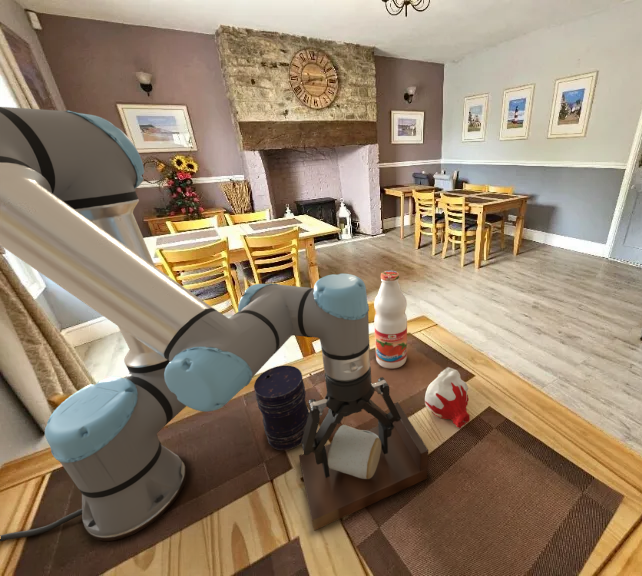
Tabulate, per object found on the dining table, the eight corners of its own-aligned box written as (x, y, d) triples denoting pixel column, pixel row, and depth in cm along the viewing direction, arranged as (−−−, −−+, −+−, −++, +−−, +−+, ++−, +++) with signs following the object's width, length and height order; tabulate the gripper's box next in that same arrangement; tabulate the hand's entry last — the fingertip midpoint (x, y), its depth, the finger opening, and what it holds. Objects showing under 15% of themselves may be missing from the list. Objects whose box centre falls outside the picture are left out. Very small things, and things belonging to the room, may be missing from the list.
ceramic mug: (370, 490, 54) (369, 460, 51) (328, 477, 56) (324, 448, 53) (388, 441, 63) (387, 413, 60) (351, 431, 66) (349, 404, 63)
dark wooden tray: (314, 530, 52) (307, 501, 49) (300, 465, 63) (295, 437, 60) (427, 478, 60) (428, 450, 57) (398, 428, 71) (397, 401, 68)
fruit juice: (406, 350, 98) (407, 267, 86) (407, 369, 89) (408, 280, 78) (376, 349, 98) (373, 267, 87) (374, 369, 90) (370, 280, 78)
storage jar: (320, 422, 73) (312, 372, 67) (292, 457, 65) (280, 403, 59) (286, 409, 77) (276, 360, 71) (257, 440, 69) (242, 389, 63)
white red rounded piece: (449, 382, 83) (484, 429, 72) (411, 394, 80) (442, 446, 68) (454, 357, 79) (492, 403, 67) (414, 368, 75) (447, 420, 63)
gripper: (275, 406, 43) (297, 503, 52) (422, 361, 51) (418, 452, 60) (270, 373, 49) (290, 465, 59) (401, 338, 58) (401, 424, 67)
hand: (355, 459), depth 60 cm, fingers closed on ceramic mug, 11 cm apart
